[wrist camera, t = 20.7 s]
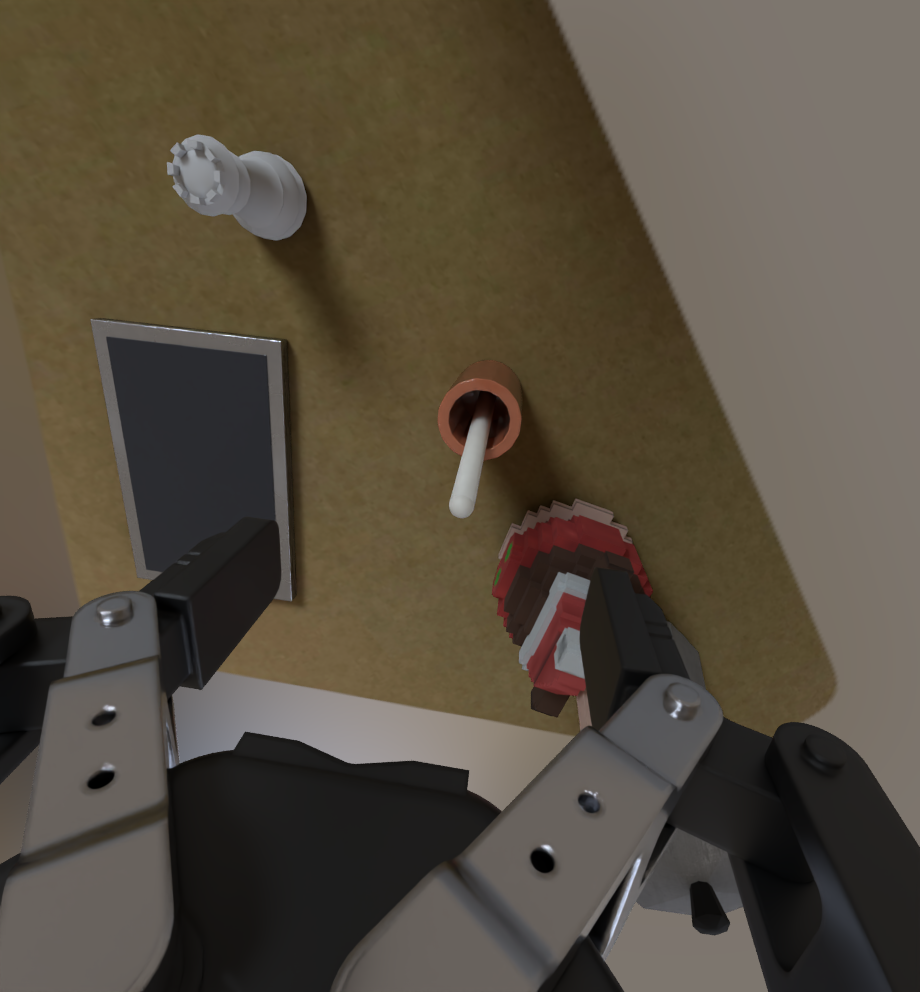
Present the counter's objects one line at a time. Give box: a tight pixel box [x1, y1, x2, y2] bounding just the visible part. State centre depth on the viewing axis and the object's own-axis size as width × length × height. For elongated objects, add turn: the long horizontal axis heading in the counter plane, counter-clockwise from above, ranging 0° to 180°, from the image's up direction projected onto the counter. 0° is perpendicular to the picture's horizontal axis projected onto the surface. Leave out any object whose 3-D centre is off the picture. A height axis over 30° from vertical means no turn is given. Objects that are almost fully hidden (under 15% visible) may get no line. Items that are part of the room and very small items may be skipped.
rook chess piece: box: [167, 135, 307, 240], centre depth 27 cm, size 4×4×8 cm
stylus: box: [449, 391, 496, 518], centre depth 27 cm, size 1×1×13 cm
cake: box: [492, 499, 653, 730], centre depth 29 cm, size 11×9×18 cm
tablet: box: [91, 318, 297, 601], centre depth 37 cm, size 20×13×1 cm, turn 174°
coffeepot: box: [636, 622, 743, 935], centre depth 32 cm, size 15×9×18 cm, turn 111°
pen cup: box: [438, 360, 522, 461], centre depth 30 cm, size 4×4×7 cm
